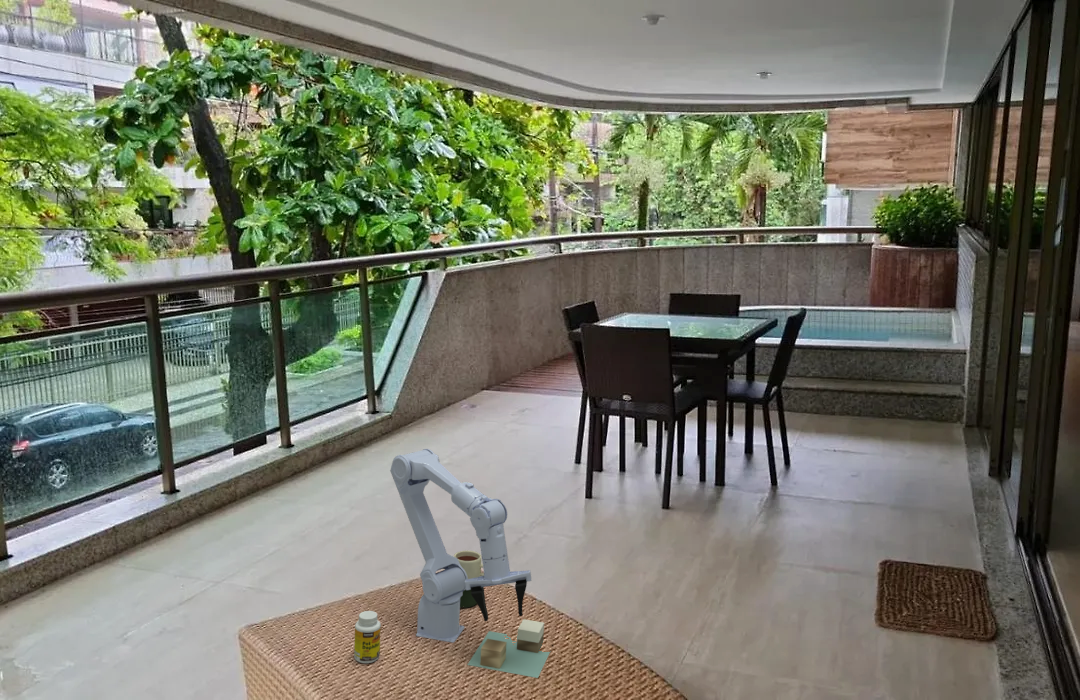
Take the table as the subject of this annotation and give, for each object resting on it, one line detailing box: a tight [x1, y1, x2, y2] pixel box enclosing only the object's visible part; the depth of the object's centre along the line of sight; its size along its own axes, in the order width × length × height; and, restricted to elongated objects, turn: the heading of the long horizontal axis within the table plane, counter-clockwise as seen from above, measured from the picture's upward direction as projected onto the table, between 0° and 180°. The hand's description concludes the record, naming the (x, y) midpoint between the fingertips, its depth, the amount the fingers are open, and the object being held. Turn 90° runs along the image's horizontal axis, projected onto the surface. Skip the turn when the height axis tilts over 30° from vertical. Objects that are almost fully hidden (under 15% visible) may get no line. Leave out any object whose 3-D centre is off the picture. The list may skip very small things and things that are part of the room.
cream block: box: [516, 619, 545, 643], centre depth 194 cm, size 5×5×2 cm
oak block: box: [480, 639, 507, 669], centre depth 187 cm, size 4×4×4 cm
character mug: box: [453, 550, 484, 608], centre depth 214 cm, size 11×7×13 cm, turn 82°
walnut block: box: [517, 632, 545, 653], centre depth 195 cm, size 5×5×2 cm
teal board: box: [467, 630, 551, 679], centre depth 191 cm, size 16×16×1 cm
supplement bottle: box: [353, 610, 382, 664], centre depth 186 cm, size 6×6×10 cm
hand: (503, 617), depth 186 cm, fingers open, 7 cm apart
